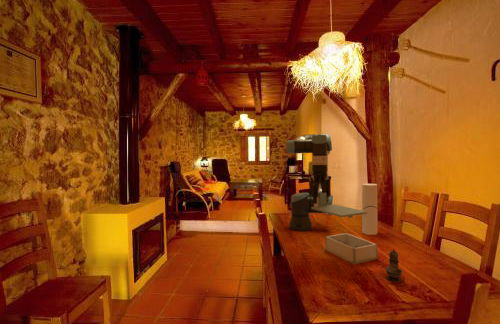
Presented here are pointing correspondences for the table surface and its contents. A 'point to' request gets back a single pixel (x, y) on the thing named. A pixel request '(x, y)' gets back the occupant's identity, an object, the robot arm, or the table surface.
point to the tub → (351, 248)
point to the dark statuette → (393, 268)
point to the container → (369, 209)
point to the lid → (335, 208)
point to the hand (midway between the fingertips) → (320, 209)
